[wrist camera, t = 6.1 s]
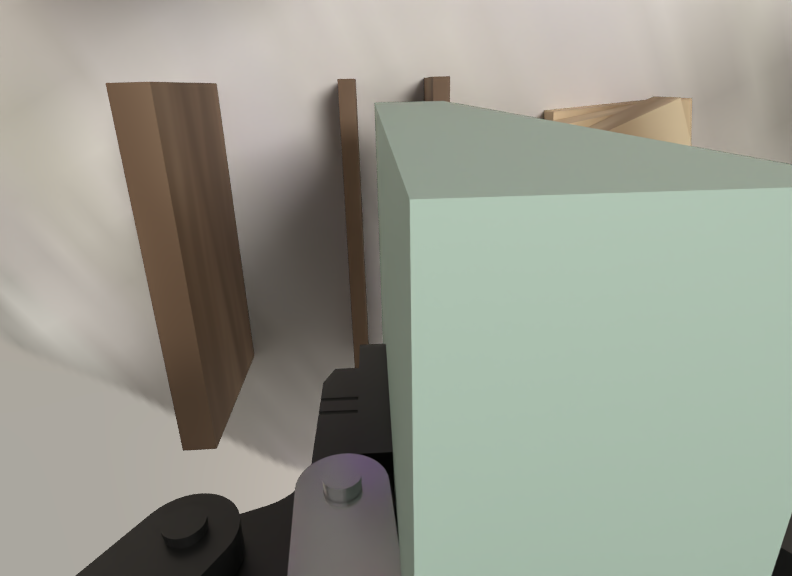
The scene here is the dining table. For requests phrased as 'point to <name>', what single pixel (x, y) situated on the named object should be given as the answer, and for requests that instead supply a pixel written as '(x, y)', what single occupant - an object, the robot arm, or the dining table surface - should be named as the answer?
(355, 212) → the walnut rack
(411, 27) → the dining table surface
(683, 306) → the sage sheet
